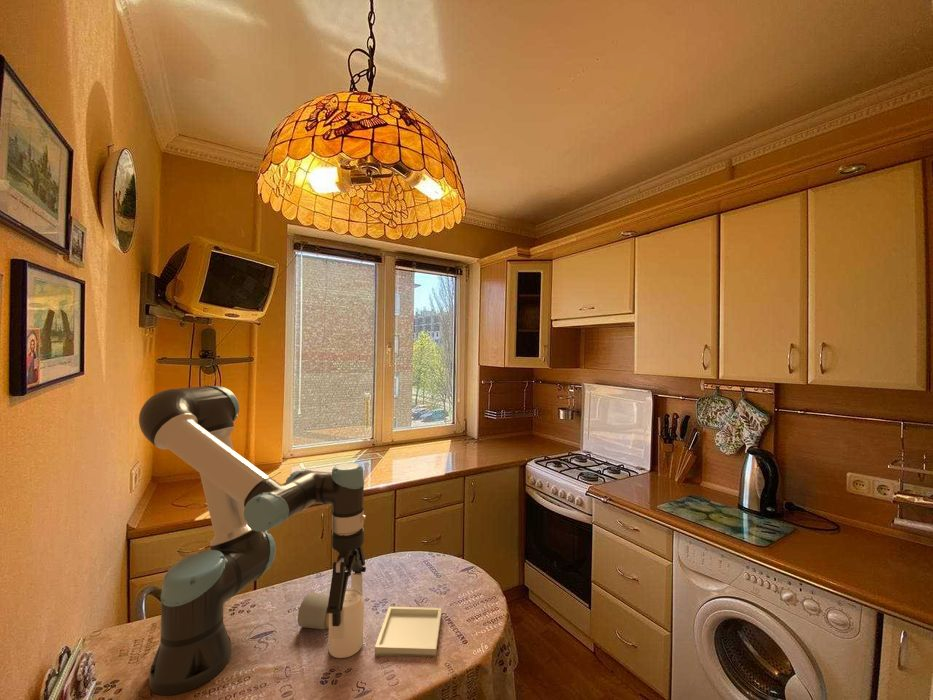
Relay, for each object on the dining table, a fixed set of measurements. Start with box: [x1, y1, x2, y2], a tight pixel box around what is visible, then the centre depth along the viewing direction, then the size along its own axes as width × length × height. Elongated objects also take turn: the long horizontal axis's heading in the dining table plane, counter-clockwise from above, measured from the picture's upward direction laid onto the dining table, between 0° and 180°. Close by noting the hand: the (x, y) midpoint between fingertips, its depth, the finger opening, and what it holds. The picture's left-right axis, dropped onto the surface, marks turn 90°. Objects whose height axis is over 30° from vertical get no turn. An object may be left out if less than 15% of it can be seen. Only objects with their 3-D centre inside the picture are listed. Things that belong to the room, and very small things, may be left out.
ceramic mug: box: [297, 591, 329, 630], centre depth 101 cm, size 11×8×8 cm
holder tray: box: [374, 606, 443, 659], centre depth 97 cm, size 15×15×2 cm
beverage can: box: [327, 588, 365, 659], centre depth 92 cm, size 8×8×12 cm
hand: (348, 616), depth 92 cm, fingers open, 13 cm apart
